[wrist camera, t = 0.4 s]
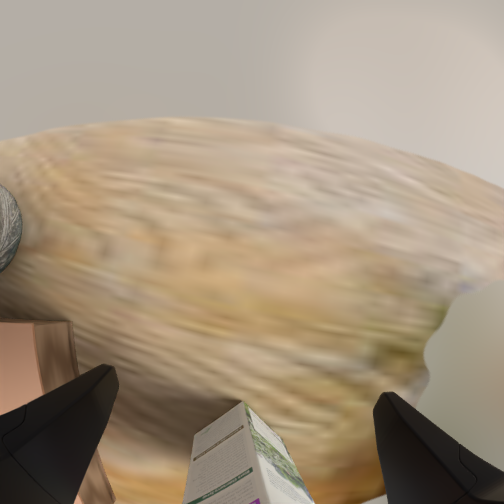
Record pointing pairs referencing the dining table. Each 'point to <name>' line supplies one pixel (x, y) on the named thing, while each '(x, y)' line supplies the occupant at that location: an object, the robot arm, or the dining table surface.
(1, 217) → the mug
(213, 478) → the syrup box
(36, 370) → the lid
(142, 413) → the dining table surface
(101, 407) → the robot arm
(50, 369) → the crate
